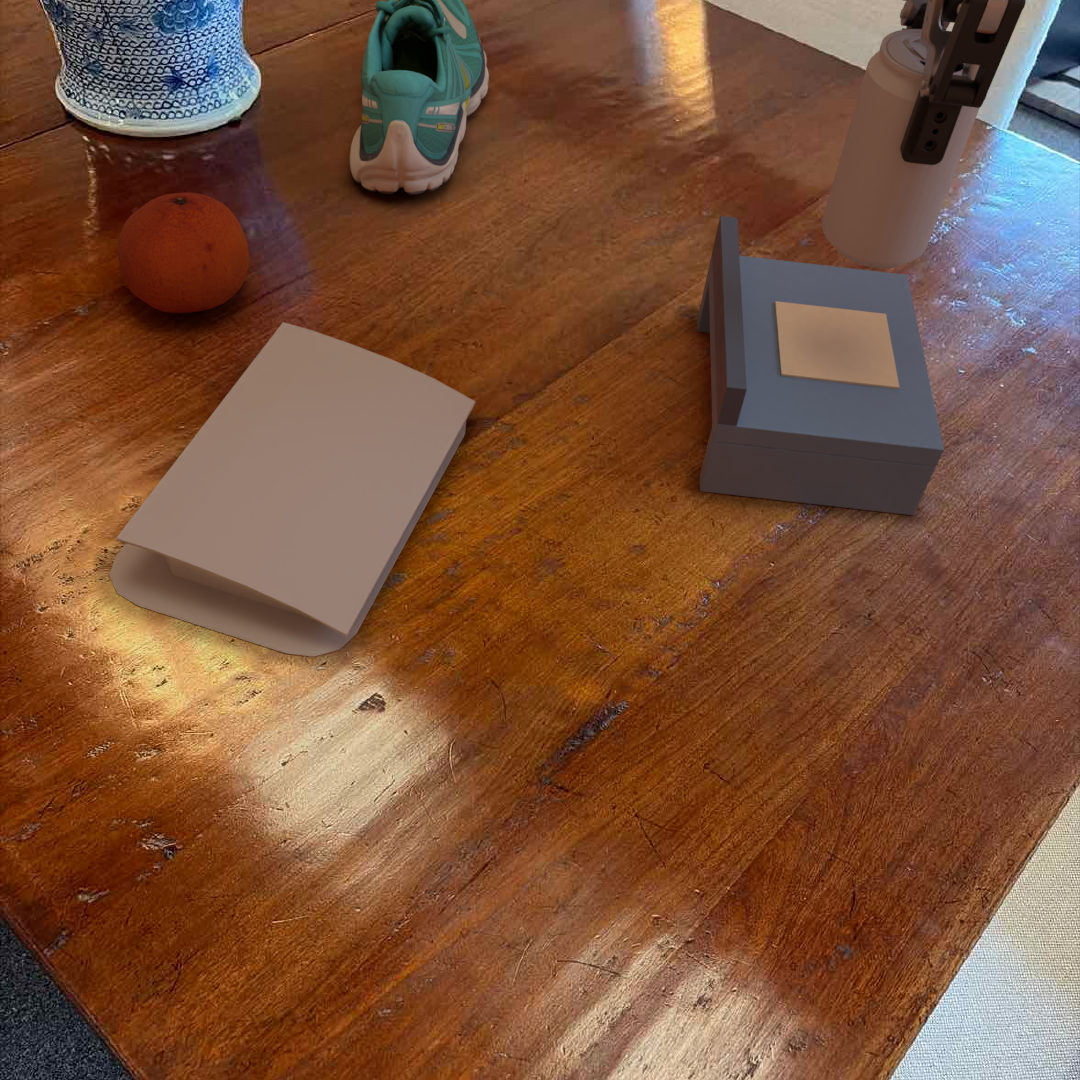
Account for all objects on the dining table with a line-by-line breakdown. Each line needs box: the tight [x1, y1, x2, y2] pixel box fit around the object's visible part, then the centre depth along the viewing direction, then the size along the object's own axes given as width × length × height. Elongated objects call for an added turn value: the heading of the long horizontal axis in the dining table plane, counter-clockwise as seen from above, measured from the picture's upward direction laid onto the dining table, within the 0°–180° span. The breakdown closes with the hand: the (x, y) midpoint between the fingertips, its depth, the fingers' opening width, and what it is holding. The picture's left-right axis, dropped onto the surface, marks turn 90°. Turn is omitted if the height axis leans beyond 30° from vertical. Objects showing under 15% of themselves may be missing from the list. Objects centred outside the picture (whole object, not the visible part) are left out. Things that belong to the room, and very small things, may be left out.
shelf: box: [696, 215, 945, 516], centre depth 80 cm, size 14×18×9 cm
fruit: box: [117, 191, 250, 314], centre depth 83 cm, size 9×9×8 cm
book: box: [108, 321, 476, 658], centre depth 73 cm, size 15×23×4 cm, turn 162°
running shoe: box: [349, 0, 490, 196], centre depth 101 cm, size 11×29×11 cm, turn 1°
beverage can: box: [821, 28, 980, 269], centre depth 68 cm, size 6×6×12 cm
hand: (910, 125), depth 66 cm, fingers closed on beverage can, 6 cm apart
